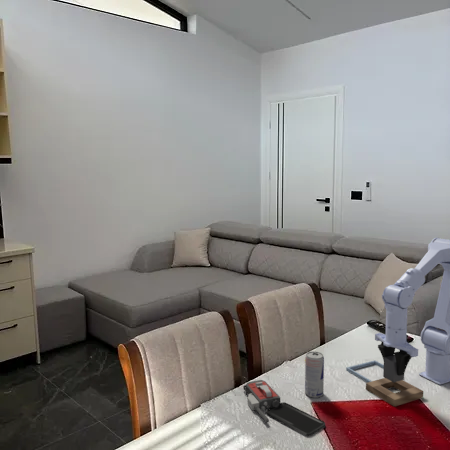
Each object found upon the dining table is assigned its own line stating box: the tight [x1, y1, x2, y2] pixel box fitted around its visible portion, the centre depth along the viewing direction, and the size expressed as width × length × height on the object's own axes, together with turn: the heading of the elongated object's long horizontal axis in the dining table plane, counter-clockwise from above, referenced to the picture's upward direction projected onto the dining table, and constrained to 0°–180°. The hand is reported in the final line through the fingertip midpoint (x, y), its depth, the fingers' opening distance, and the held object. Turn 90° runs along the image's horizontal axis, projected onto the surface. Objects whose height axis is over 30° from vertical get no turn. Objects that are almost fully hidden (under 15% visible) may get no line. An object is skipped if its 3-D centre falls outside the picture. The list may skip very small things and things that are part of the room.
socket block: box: [365, 377, 424, 407], centre depth 133 cm, size 11×11×2 cm
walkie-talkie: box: [243, 379, 281, 423], centre depth 127 cm, size 9×4×20 cm
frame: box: [345, 359, 384, 383], centre depth 146 cm, size 12×12×1 cm
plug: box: [383, 355, 405, 382], centre depth 132 cm, size 4×4×6 cm
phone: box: [265, 402, 326, 437], centre depth 120 cm, size 8×1×15 cm
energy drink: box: [304, 351, 325, 399], centre depth 133 cm, size 5×5×12 cm
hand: (394, 371), depth 132 cm, fingers closed on plug, 4 cm apart
